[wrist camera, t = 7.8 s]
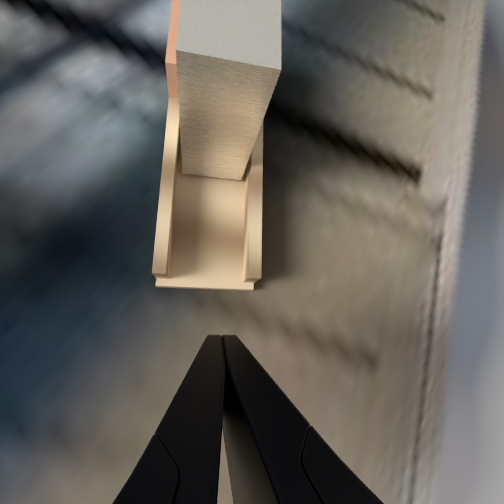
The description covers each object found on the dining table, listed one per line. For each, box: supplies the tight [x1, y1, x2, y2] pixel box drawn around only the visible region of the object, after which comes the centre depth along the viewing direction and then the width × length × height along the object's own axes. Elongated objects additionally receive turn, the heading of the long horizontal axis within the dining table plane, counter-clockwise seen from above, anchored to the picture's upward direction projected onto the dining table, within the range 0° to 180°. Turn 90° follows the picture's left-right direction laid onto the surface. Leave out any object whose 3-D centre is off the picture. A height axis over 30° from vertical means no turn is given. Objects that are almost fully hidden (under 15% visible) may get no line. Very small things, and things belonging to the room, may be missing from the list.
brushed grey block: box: [176, 0, 281, 180], centre depth 18 cm, size 9×4×10 cm, turn 179°
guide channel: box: [152, 97, 263, 291], centre depth 22 cm, size 19×7×3 cm, turn 179°
